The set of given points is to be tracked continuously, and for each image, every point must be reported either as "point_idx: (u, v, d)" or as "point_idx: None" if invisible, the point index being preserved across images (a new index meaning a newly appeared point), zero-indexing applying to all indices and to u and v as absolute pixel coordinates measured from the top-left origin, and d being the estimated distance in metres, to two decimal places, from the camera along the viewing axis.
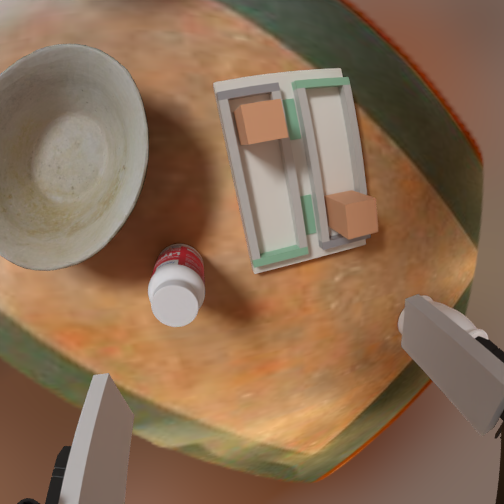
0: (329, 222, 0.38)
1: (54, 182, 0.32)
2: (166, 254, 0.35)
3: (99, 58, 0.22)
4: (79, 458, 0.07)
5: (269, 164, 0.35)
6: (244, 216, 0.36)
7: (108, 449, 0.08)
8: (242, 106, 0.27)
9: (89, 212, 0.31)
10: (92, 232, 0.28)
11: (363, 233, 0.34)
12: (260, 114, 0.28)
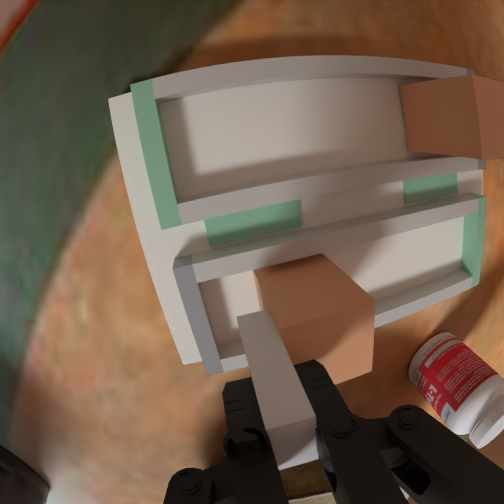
0: None
1: None
2: (426, 396, 0.22)
3: None
4: (266, 379, 0.10)
5: (343, 261, 0.18)
6: (420, 308, 0.19)
7: None
8: None
9: None
10: None
11: None
12: None
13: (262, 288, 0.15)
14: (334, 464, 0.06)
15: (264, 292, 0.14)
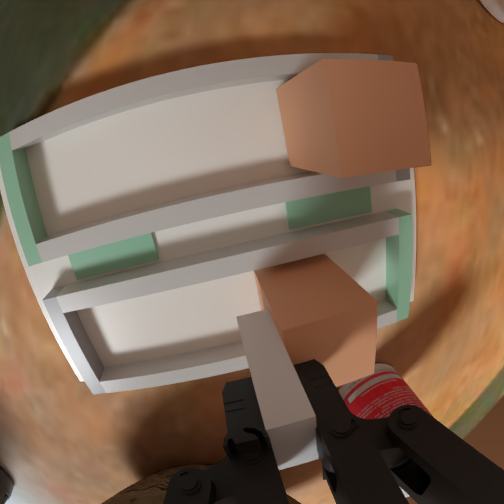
0: None
1: None
2: None
3: None
4: (267, 379, 0.10)
5: (215, 295, 0.17)
6: None
7: None
8: None
9: None
10: None
11: (421, 114, 0.09)
12: None
13: (263, 289, 0.14)
14: (334, 464, 0.06)
15: (265, 293, 0.14)
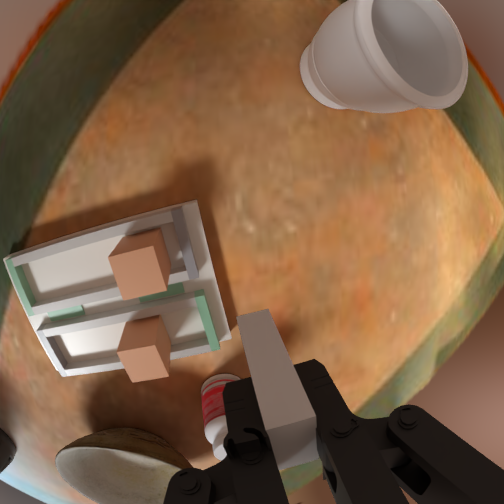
0: None
1: None
2: None
3: (61, 456, 0.29)
4: (266, 379, 0.10)
5: (112, 330, 0.32)
6: None
7: None
8: (133, 381, 0.27)
9: None
10: None
11: (157, 270, 0.24)
12: (137, 368, 0.27)
13: (123, 332, 0.29)
14: (334, 464, 0.06)
15: (122, 334, 0.29)
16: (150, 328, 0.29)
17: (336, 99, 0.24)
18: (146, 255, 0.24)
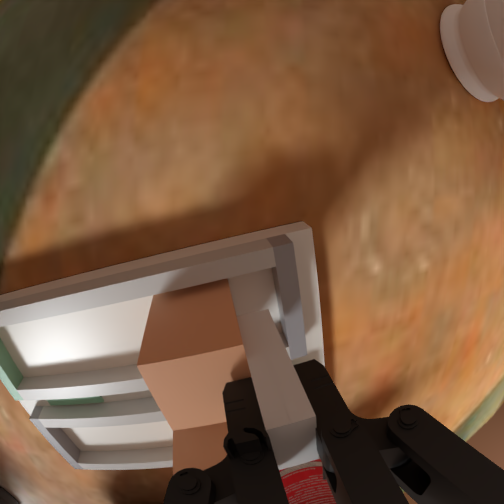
0: None
1: None
2: None
3: None
4: (266, 379, 0.10)
5: None
6: None
7: None
8: None
9: None
10: None
11: None
12: None
13: (173, 438, 0.16)
14: (334, 464, 0.06)
15: (173, 443, 0.16)
16: (222, 434, 0.16)
17: None
18: (226, 362, 0.11)
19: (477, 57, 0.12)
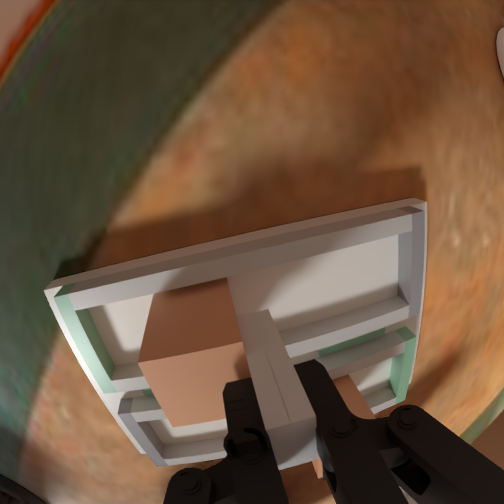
0: None
1: None
2: None
3: None
4: (266, 379, 0.10)
5: None
6: None
7: None
8: (321, 476, 0.16)
9: None
10: None
11: None
12: None
13: None
14: (334, 464, 0.06)
15: None
16: (349, 397, 0.17)
17: None
18: (225, 359, 0.11)
19: None
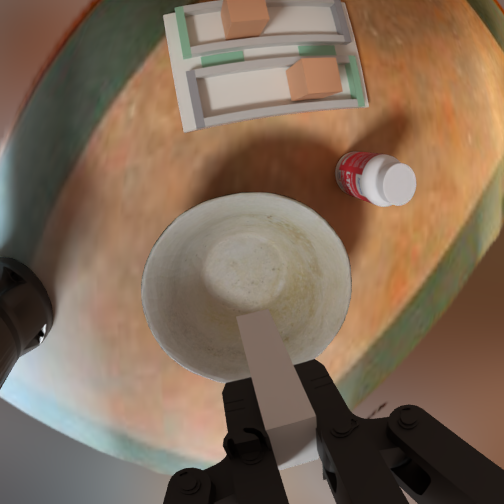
0: (254, 35, 0.30)
1: (265, 287, 0.42)
2: (347, 184, 0.36)
3: (162, 245, 0.30)
4: (266, 379, 0.10)
5: (268, 81, 0.33)
6: (319, 108, 0.33)
7: None
8: (309, 92, 0.28)
9: (302, 253, 0.38)
10: (325, 251, 0.34)
11: (263, 4, 0.24)
12: (317, 78, 0.28)
13: (291, 66, 0.30)
14: (334, 464, 0.06)
15: (293, 65, 0.30)
16: None
17: None
18: None
19: None
